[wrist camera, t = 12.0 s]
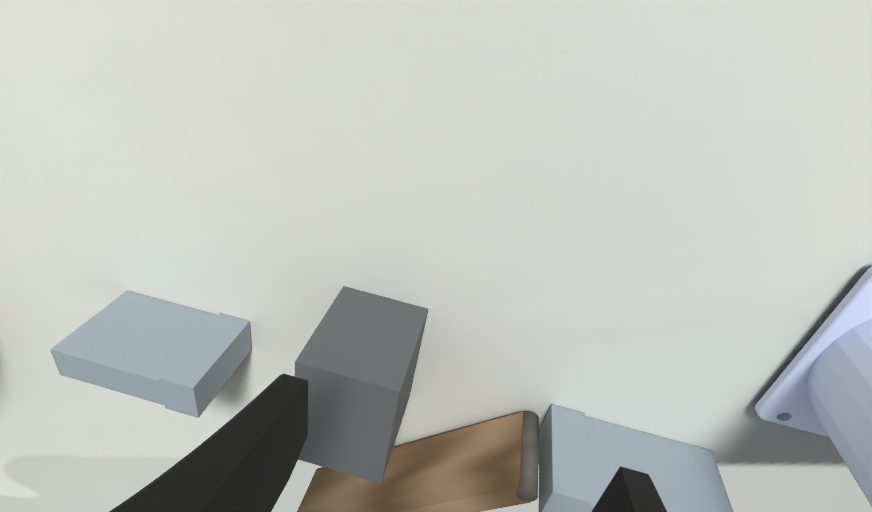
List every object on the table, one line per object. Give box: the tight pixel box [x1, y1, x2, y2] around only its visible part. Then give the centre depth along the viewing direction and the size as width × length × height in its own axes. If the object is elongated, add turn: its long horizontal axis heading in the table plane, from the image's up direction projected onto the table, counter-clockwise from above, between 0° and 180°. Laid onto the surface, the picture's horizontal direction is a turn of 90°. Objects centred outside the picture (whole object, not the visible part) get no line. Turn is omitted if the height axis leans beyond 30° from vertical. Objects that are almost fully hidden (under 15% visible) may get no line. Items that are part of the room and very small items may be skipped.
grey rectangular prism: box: [295, 286, 428, 484], centre depth 21 cm, size 4×6×5 cm, turn 169°
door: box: [297, 411, 539, 512], centre depth 24 cm, size 15×1×4 cm, turn 123°
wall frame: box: [50, 291, 733, 512], centre depth 22 cm, size 30×2×4 cm, turn 80°
